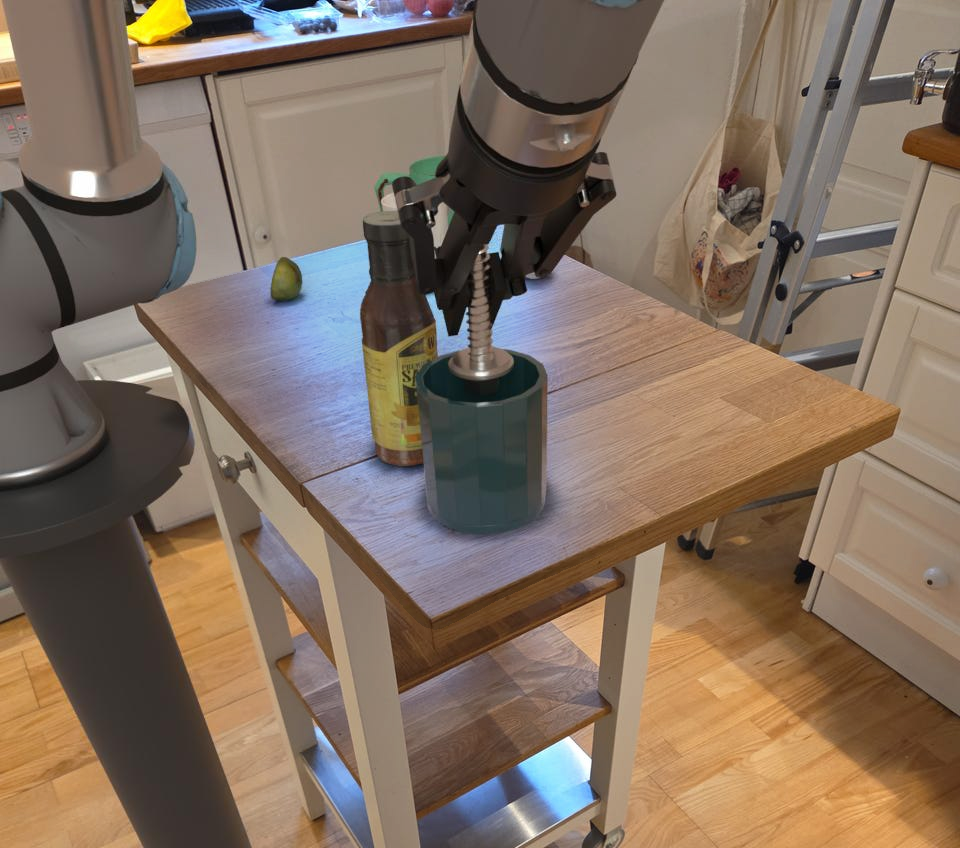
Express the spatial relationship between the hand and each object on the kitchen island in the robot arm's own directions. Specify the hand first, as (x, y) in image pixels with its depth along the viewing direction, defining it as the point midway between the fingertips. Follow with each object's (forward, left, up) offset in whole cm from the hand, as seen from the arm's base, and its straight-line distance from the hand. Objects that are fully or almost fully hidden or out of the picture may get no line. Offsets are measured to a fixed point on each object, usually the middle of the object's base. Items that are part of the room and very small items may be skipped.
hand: (465, 316), depth 66 cm
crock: (+4, -1, -14) cm, 15 cm away
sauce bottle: (-7, -3, -14) cm, 16 cm away
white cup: (-44, +17, -14) cm, 49 cm away
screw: (+4, -1, -4) cm, 6 cm away
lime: (-49, +1, -14) cm, 51 cm away
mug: (-56, +25, -14) cm, 63 cm away
